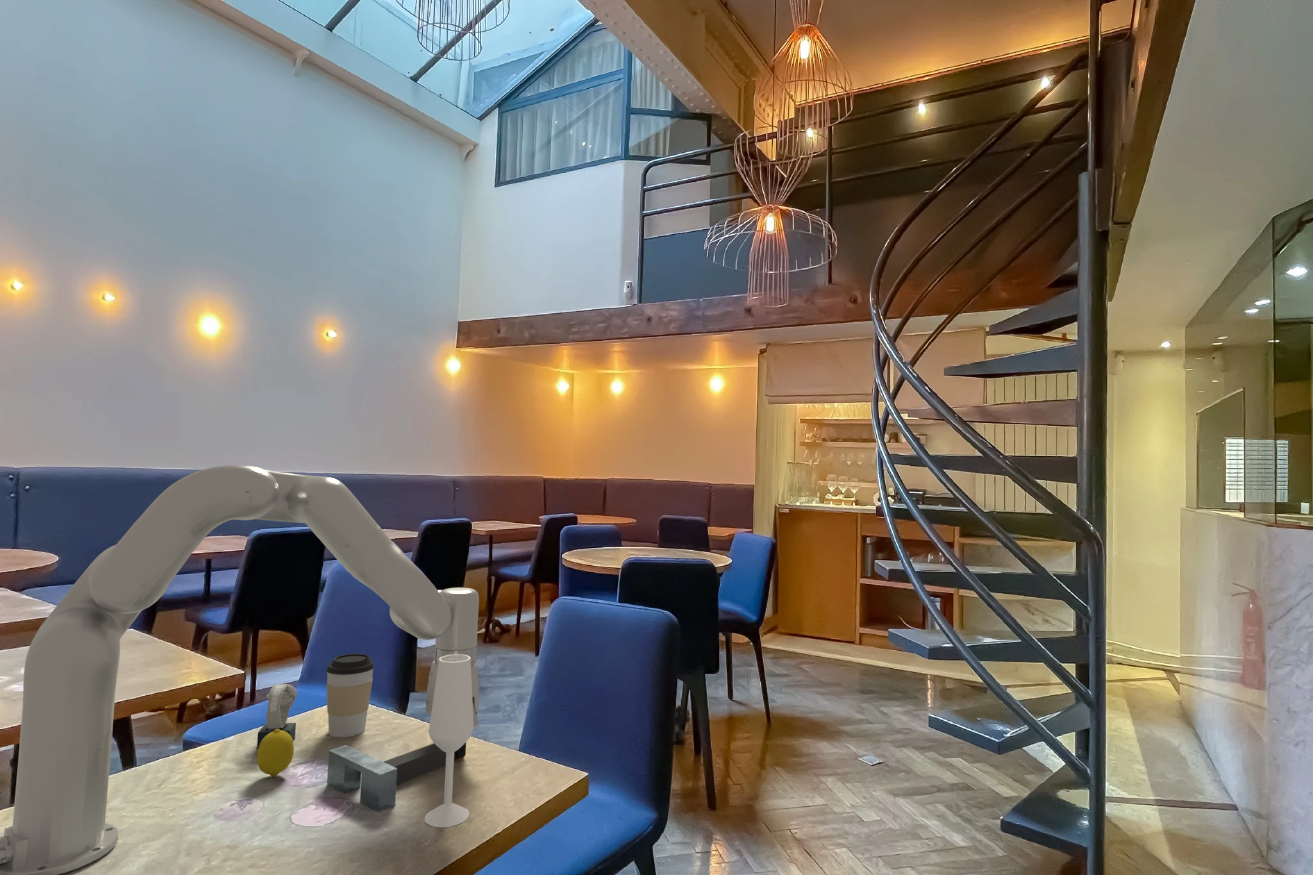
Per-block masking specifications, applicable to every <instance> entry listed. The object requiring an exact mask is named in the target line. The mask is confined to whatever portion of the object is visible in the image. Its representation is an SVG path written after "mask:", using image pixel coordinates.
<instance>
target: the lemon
mask: <svg viewBox="0 0 1313 875" xmlns="http://www.w3.org/2000/svg"><path fill="white" fill-rule="evenodd" d="M294 747H295V746H294V741H293V740H292V737H291V736H290V735H289V734H288V733H287V732H285V731H281V730H280V729H275V730H274V731H273V732H271V733H269V734H268V735H266V736H265V737H264V738H263V740H262V741H261V743H260V745H259V748H258V750H257V753H256V763H257V766H258V768H259V770H260V771H261V772H262V773H264V774H266V775H269V776H270V777H272V778H276V777H277V776H278V775H279V774H280V773H283V771H285V770H286V769H287V768H288V767H289V766H290V764H291V762H292V761H293V758H294V755H295V754H294V753H295V748H294Z"/></svg>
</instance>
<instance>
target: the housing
mask: <svg viewBox="0 0 1313 875" xmlns="http://www.w3.org/2000/svg"><path fill="white" fill-rule="evenodd" d="M327 762H328V763H327V779H326V780H327V781H326V785H327V786H329V787H331V788H333V789H335V790H336V791H339V793H342V794H345V793H348V792H350V791H353V790H356V789H359V788H360V794H359V803H360V804H362V805H365V806H366V807H368V808H370V809H372V810H374V811H376V812H377V813H378V812H381V811H383V810H386V809H389V808H390V807H393V806H395V805H396V801H397V800H396V797H397V785H396V781H397V768H395V767H393V766H391V765H389V764H387V763H384V761H382V760H379V759H377V758H376V757H373V756H371V755H369V754H366V753H364V752H362V751H360V750H358V749H356V748H354V747H351V746H349V745H348V744H344V745H342V746H339V747H335V748H332V749H329V750H328V761H327Z"/></svg>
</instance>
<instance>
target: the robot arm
mask: <svg viewBox="0 0 1313 875" xmlns="http://www.w3.org/2000/svg"><path fill="white" fill-rule="evenodd" d="M231 520H239V521H251V520H262V521H273V522H283V523H297V524H298V523H299V524H305V525H306V526H307V527H308V528H309V529H310V530H311V532H312V533H313V534H314V535H315V536H316V538H318V539H319V540H320V542H321V543H322V544H323V545H324V547H326V548H327V550H328V551H329V552H330V553H331V554H332V555H333V557H334V558H335V559H336V560H337V561H338V563H340V565H341V566H342V567H343V568H344V569H345V571H347V572H348V573H349V574H350V575H351V576H352V577H353V578H354V579H356V580H358V582H360V583H361V584H362V585H365V586H366V587H367V588H369V589H370V590H372V591H373V592H374V593H375V594H377V596H379V597H380V599H382V600H383V601H384V602H385V603H386V604H387V605H388V607H389V616H390V618H391V621H392V622H393V624H395V626H397V628H398V629H399V628H400V629H401V630H403V631H405V632H406V633H409V634H410V635H412V636H413V637H415V638H417V639H420V640H423V641H424V640H425V641H429V640H430V641H431V640H434V639H435V640H434V641H435V642H434V643H435V644H434V646H435V647H434V660H433V661H432V662H431V663H432V664H431V666H430V670H429V675H428V681H427V687H426V688H427V689H426V696H425V697H426V698H425V712H426V714H427V715H428V716H430V717H431V712H432V705H433V698H434V691H435V684H436V677H437V670H438V663H439V658H440V657H443V656H446V655H454V654H461V655H467V656H470V658H471V680H472V702H473V724H474V729H476V728H478V727H479V726H480V724H479V719H478V712H479V702H480V701H479V700H480V696H479V694H480V692H479V690H480V688H479V686H480V685H479V684H480V683H479V671H478V665H477V664H476V663H477V647H478V630H479V629H478V626H479V622H478V621H479V605H480V600H479V599H480V596H479V592H478V591H477V590H476V589H473V588H471V587H449V588H445V589H438V588H436V586H435V584H433V583H432V582H431V580H430V579H429V578H428V577H427V576H426V575H425V573H424V572H423V571H422V570H421V569H420V568H419V567H418V566H417V565H416V564H415V563H414V562H413V561H412V560H411V559H410V558H409V557H408V556H407V555H406V554H405V553H404V552H403V551H402V549H401V548H400V547H399V546H398V545H397V544H396V543H395V542H394V541H393V540H392V539H391V538H390V537H389V535H388V534H386V532H385V531H384V530H383V529H382V528H381V527H380V525H379V524H378V523H377V522H376V520H374V518H373V517H372V516H371V515H370V513H369V512H368V511H367V510H366V508H365V507H364V506H363V505H362V504H361V502H360V501H359V500H358V499H357V498H356V496H355V495H354V494H353V493H352V492H351V491H350V489H349V488H348V487H347V486H346V485H345V484H344V483H343V482H341V480H338V479H336V478H333V477H329V476H320V475H304V474H295V473H288V472H287V473H286V472H280V471H274V470H273V471H272V470H268V469H264V468H261V467H258V466H254V465H253V466H252V465H239V464H238V465H235V464H233V465H232V464H231V465H218V466H212V467H208V468H207V467H206V468H204V469H201V470H198V471H196V472H192V473H190V474H188V475H186V476H184V477H181V478H180V479H178V480H176V481H175V482H173V483H172V484H171V485H170V486H168V487H167V488H166V489H165V490H164V491H162V492H161V493H160V494H159V495H158V496H157V497H156V498H155V499H154V500H153V501H152V503H150V504H149V506H148V507H147V508H146V509H145V511H144V512H143V513H142V514H141V515H140V517H138V518H137V519H136V521H135V522H134V523H133V524H132V525H131V527H130V528H129V529H128V530H126V533H125V534H124V535H123V536H122V537H121V539H120V540H119V541H118V542H117V543H116V544H114V545H112V546H110V547H108V548H106V549H105V550H103V551H102V552H101V553H100V554H98V556H97V557H96V558H95V559H94V560H93V561H92V562H91V563H90V564H89V566H88V567H87V568H86V569H85V571H83V572H82V574H81V575H80V577H78V578H77V580H76V581H75V583H74V584H73V585H72V586H71V588H70V589H69V590H68V592H66V593H65V595H64V596H63V598H62V599H61V600H60V601H59V602H58V603H57V605H56V606H55V607H54V608H53V609H52V611H51V612H50V614H49V615H48V616H47V617H46V619H45V620H44V621H43V623H42V624H41V625H40V626H39V628H38V629H37V632H36V633H35V636H34V637H33V639H32V641H31V643H30V646H29V648H28V651H27V653H26V657H25V662H24V668H23V687H22V688H23V690H22V708H21V723H20V735H19V748H18V749H19V750H18V760H17V761H18V762H17V773H16V783H15V784H16V785H15V796H14V807H13V818H12V825H11V826H9V827H6V828H4V832H3V836H0V875H62V874H65V873H69V872H72V871H74V870H78V869H80V868H83V867H84V866H87V865H89V864H91V863H92V862H95V861H97V860H99V859H100V858H102V857H103V856H105V855H106V854H108V853H109V852H110V851H111V850H112V849H114V847H115V846H116V844H117V843H118V840H119V829H118V828H117V827H116V826H114V825H112V824H109V823H107V822H106V816H107V815H106V814H107V806H108V805H107V804H108V792H109V791H108V790H109V778H110V765H111V753H112V740H113V730H114V729H113V727H114V726H113V725H114V714H115V713H114V712H115V703H116V690H117V682H118V680H117V679H118V673H119V667H120V666H119V664H120V657H121V656H120V654H121V641H120V640H122V637H124V635H125V634H126V632H127V630H129V628H130V627H131V625H132V624H133V622H134V621H135V620H136V619H137V617H139V615H140V613H142V611H144V610H145V609H147V608H150V607H151V606H153V605H154V604H155V603H156V602H158V601H159V600H160V599H161V598H162V597H163V595H164V594H165V592H166V591H167V589H168V588H169V587H170V584H171V583H172V581H173V580H174V579H175V577H176V576H177V574H178V573H179V572H180V570H181V569H182V568H183V567H184V565H185V563H186V562H187V561H188V559H189V558H190V556H191V555H192V554H193V553H194V551H195V550H197V548H198V546H200V544H201V543H202V542H203V541H204V540H205V538H206V537H207V535H209V534H210V533H211V532H212V531H213V530H214V529H216V528H217V527H218V526H220V525H222V524H224V523H226V522H228V521H231ZM466 751H467V742H466V743H465V744H464V745H463V746H461V747H460V748H459V749H458V750H457V751H455V752H454V761H455V762H457V761H459V760H458V759H460V760H462V759H464V758H465V757H466V754H467V752H466ZM463 757H464V758H463ZM461 758H462V759H461ZM456 760H457V761H456Z"/></svg>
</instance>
